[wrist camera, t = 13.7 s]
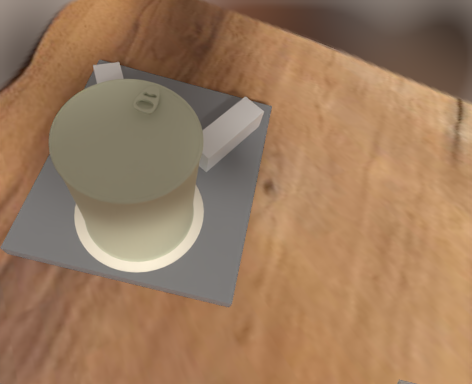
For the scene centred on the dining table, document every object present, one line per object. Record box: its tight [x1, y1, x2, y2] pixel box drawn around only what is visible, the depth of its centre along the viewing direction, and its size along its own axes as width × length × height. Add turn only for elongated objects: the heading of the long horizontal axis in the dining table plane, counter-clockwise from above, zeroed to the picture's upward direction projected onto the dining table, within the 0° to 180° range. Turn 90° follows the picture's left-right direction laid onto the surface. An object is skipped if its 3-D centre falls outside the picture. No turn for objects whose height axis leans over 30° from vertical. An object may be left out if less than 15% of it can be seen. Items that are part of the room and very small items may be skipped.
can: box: [49, 79, 204, 262], centre depth 28 cm, size 9×9×12 cm
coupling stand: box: [1, 60, 272, 307], centre depth 35 cm, size 19×22×4 cm
